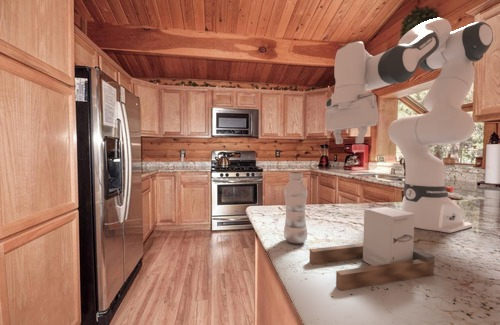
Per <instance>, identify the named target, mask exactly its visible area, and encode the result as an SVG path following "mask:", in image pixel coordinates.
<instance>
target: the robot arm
mask: <svg viewBox="0 0 500 325" xmlns="http://www.w3.org/2000/svg"><path fill="white" fill-rule="evenodd" d="M493 40H494V33H493V29H492V28H491V25H489V24H488V23H487V22H484V21H476V22H473V23H470V24H467V25H466V26H464V27H461V28H459V29H456V30H453V31H452V25H451V23H450V21H449V20H447V19H446V18H443V17H437V18H433V19H429V20H427V21H424V22H421V23H420V24H418V25H416V26H415V27H412V28H411V29H409V30H408V31H407V32H406V33H405V34H404V35H402V37H401V38H400V39H399V41H398V43H397V45H395V46H393V47H391V48H388V49H387V50H386V51H383V52H380V53H378V54H376V55H374V56H373V55H371V54H370V53H369V52H368V51H367V50H366V49H365V48H366V47H365V44H364V42H363V41H352V42H349V43H347V44H344V45H343V46H341V47H339V48H338V50H337V51H336V55H335V59H334V66H333V67H334V69H333V70H334V73H333V75H334V79H335V85H334V90H333V92H334V93H332V95H331V96H330V97H329V98H328V99H327V100H326V101H325V103H324V108H325V109H326V111H325V115H324V116H325V119H324V120H325V121H324V122H325V123H324V124H325V125H324V126H325V129H326V130H327V131H328V132H330V131H332V132H333V137H334V139H335V144H336V145H343V143H344V138H343V137H342V136H341V134H342V130H353V129H357V131H358V134H357V136H356V137H355V139H354V140H355V144H364V143H365V137H366V134H367V132H368V128H369V127H375V126H377V125H378V124H379V107H378V102H377V96H376V95H375V93H374V92H372V90H376V89H380V88H384V87H387V86H390V85H395V84H401V83H406V82H408V81H409V80H410V79H411V78H412V77H413V76H414V74H415V73H416V71H417V70H418V68H420V69H421V70H422V71H425V72H433V71H437V70H438V69H441V71H440V73H439V75H438V76H437V77H436V78H435V80H434V81H433V83H432V85H431V87H429V88H430V89H428V92H427V93H426V95H425V96H424V100H423V105H424V109H425V110H427V111H428V112H426V113H419V114H414V115H406V116H403V117H400V118H396V119H395V120H392V121H391V123H390V125H389V126H388V130H387V135H388V138H389V139H390V142H392V143H393V144H395V145H396V146H397V147H398V149H399V150H400V152H401V154H402V156H403V160H404V165H405V183H403V194H404V196H402V202H401V203H402V204H401V209H400V210H402V211H406V212H410V213H414V214H415V219H414V228H416V229H421V230H426V231H427V230H429V231H436V232H437V231H438V232H443V233H449V234H451V233H454V232H458V231H459V232H460V231H462V230H465V229H470V228H472V227H473V223H470V222H468V221H466V220H464V212H463V209H462V207H461V206H459V205H458V204H457V203H455V202H454V201H453V200H452V199H451V198H449V194H448V193H451V194H452V193H453V192H454V191H455V189H454V187H453V186H448V185H447V186H446V185H445V177H446V176H445V174H446V171H445V170H446V166H445V165H446V164H445V162H443V160H442V159H440V158H439V157H437V156H435V155H434V154H432V152H431V151H430V148H429V146H448V145H453V144H454V145H455V144H458V143H464V142H466V141H467V140H469V139H470V138H471V136H472V135H473V133H474V131H475V128H476V127H475V121H474V118H473V116H472V115H471V114H470V113H468V112H467V111H464V110H463V109H462V105H463V103H464V101H465V99H466V97H467V95H468V94H469V92H470V90H471V88H472V85H473V82H474V79H475V76H476V69H475V67H474V65H473V63H474V62H478V61H480V60H482V59H483V57H484V54H485V53H487V52H488V50H489V48H490V47H491V45H492V43H493ZM366 91H367V92H366Z"/></svg>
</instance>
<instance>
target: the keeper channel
mask: <svg viewBox="0 0 500 325" xmlns="http://www.w3.org/2000/svg"><path fill="white" fill-rule="evenodd" d="M358 259H363V242H362V243H354V244H353V243H352V244H346V245H343V244H342V245H336V246H328V247H327V246H326V247H318V248H309V264H311V265H312V266H313V265H320V264H327V263H328V264H329V263H336V262H344V261H350V260H358ZM435 259H436V256H434V255H432V254H430V253H427V252H425V251H423V250H420V249H418V248H416V247H414V246H413V260H411V261H404V262H397V263H390V264H383V265H375V266H372V265H369V266H362V267H354V268H348V269H343V270H336V273H335V277H336V278H335V287H336V288H337V289H338V290H340V291H345V290H346V291H347V290H352V289H358V288H365V287H372V286H376V285H382V284H388V283H394V282H395V283H396V282H400V281H406V280H412V279H419V278H424V277H431V276H435V263H436V260H435Z"/></svg>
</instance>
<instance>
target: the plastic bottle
mask: <svg viewBox="0 0 500 325" xmlns="http://www.w3.org/2000/svg"><path fill="white" fill-rule="evenodd" d="M288 174H289V176H288V179H289V181H288V182H287V184H285V187H284V190H283V194H284V195H283V196H284V202H285V203H284V204H285V222H284V228H283V237H284V239H285V241H286V242H288V243H290V244H294V245H296V244H298V245H299V244H304V243H305V242H306V241H307V239H308V228H307V222H306V207H307V206H306V204H307V198H308V189H307V187H306V185H305V183H304V182H303V180H304V177H303V172H302V171H289V172H288Z"/></svg>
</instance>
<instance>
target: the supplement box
mask: <svg viewBox="0 0 500 325" xmlns="http://www.w3.org/2000/svg"><path fill="white" fill-rule="evenodd" d="M363 212H364V213H363V216H364V217H363V242H362V243H363V258H362V262H364V263H367V264H368V265H369V266H375V265H383V264H390V263H397V262H404V261H411V260H413V247H414V239H415V237H414V236H415V227H414V219H415V214H414V213H410V212H406V211H402V210H401V209H397V208H393V207H388V206H383V207H373V208H364V211H363Z"/></svg>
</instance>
